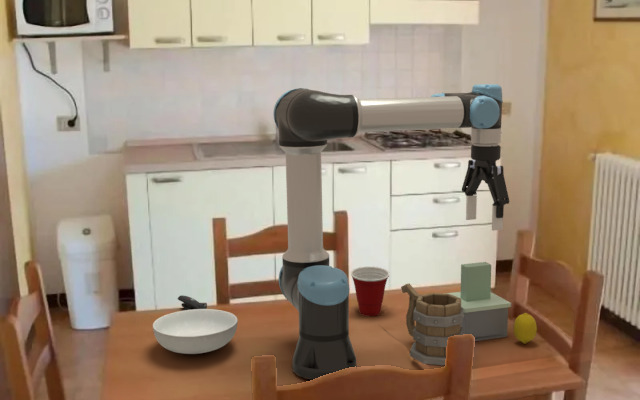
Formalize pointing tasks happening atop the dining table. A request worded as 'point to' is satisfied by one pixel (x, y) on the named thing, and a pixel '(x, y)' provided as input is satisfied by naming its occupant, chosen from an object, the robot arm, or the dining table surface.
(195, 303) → the black stapler
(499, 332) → the parts tub
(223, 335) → the serving bowl
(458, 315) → the tankard
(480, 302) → the lid
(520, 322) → the lemon
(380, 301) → the plastic cup
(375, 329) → the dining table surface
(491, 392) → the dining table surface
